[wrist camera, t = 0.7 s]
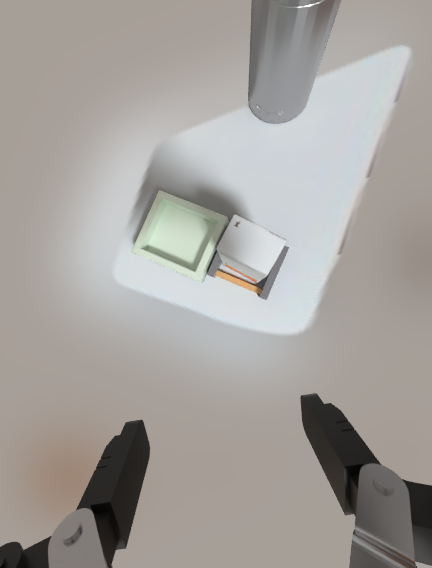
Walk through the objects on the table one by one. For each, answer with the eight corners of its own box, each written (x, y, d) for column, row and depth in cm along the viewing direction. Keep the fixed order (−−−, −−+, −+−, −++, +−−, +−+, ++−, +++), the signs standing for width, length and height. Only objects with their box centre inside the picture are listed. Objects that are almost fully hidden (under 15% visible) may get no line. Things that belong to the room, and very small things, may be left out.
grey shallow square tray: (229, 227, 35) (229, 223, 33) (286, 250, 34) (289, 247, 32) (208, 275, 35) (207, 273, 33) (265, 299, 34) (266, 299, 32)
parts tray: (165, 198, 37) (159, 189, 34) (228, 223, 35) (227, 216, 32) (140, 255, 36) (131, 251, 33) (202, 283, 35) (198, 281, 32)
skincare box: (222, 265, 35) (213, 248, 23) (236, 241, 35) (233, 211, 23) (258, 285, 34) (267, 276, 22) (272, 259, 34) (288, 238, 22)
